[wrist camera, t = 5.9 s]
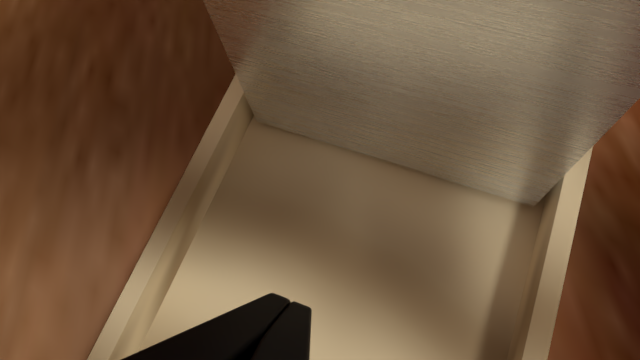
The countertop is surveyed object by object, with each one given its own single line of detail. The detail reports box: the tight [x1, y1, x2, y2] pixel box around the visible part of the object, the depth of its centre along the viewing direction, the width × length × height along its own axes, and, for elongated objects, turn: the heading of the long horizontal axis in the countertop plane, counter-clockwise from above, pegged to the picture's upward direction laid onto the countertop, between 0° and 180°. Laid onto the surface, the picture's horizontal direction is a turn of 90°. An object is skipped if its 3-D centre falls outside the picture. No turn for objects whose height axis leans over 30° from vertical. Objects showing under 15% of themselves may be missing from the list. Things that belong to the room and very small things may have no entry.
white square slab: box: [203, 0, 640, 207], centre depth 13 cm, size 3×10×10 cm, turn 69°
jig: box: [87, 74, 593, 360], centre depth 13 cm, size 22×12×8 cm, turn 159°
